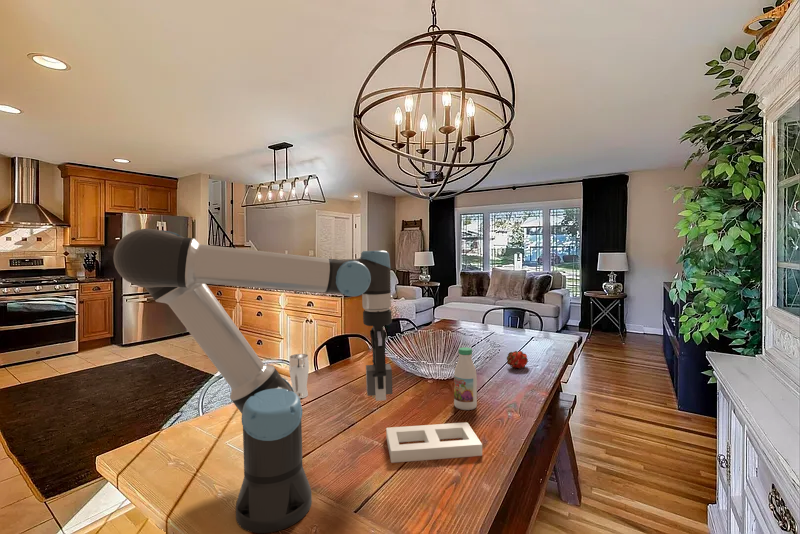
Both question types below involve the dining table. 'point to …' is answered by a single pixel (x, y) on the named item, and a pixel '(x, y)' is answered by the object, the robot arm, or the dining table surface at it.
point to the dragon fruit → (517, 359)
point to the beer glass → (299, 374)
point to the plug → (371, 380)
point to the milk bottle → (465, 381)
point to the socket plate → (432, 442)
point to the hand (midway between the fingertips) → (379, 395)
